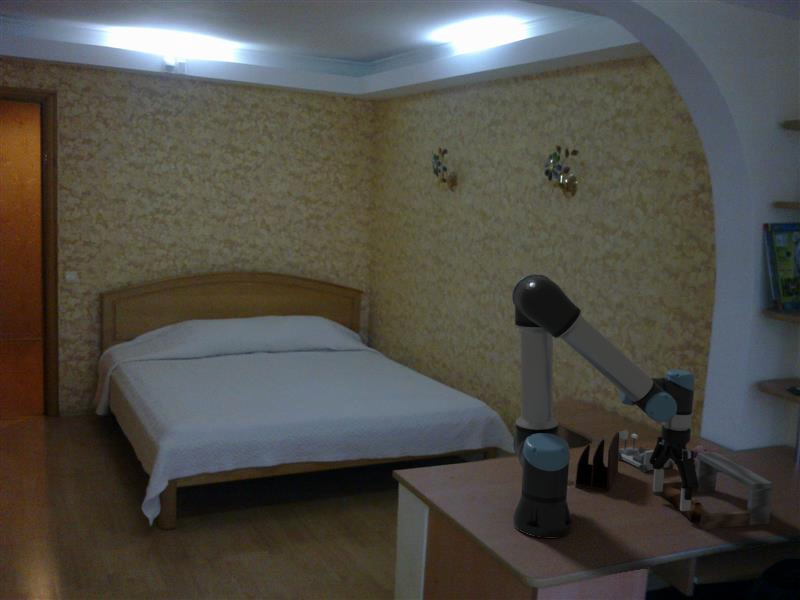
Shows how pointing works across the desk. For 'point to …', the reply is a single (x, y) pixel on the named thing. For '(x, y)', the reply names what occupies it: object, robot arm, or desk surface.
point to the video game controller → (699, 450)
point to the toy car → (638, 454)
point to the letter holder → (598, 467)
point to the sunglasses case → (695, 509)
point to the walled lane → (757, 485)
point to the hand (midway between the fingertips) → (670, 500)
